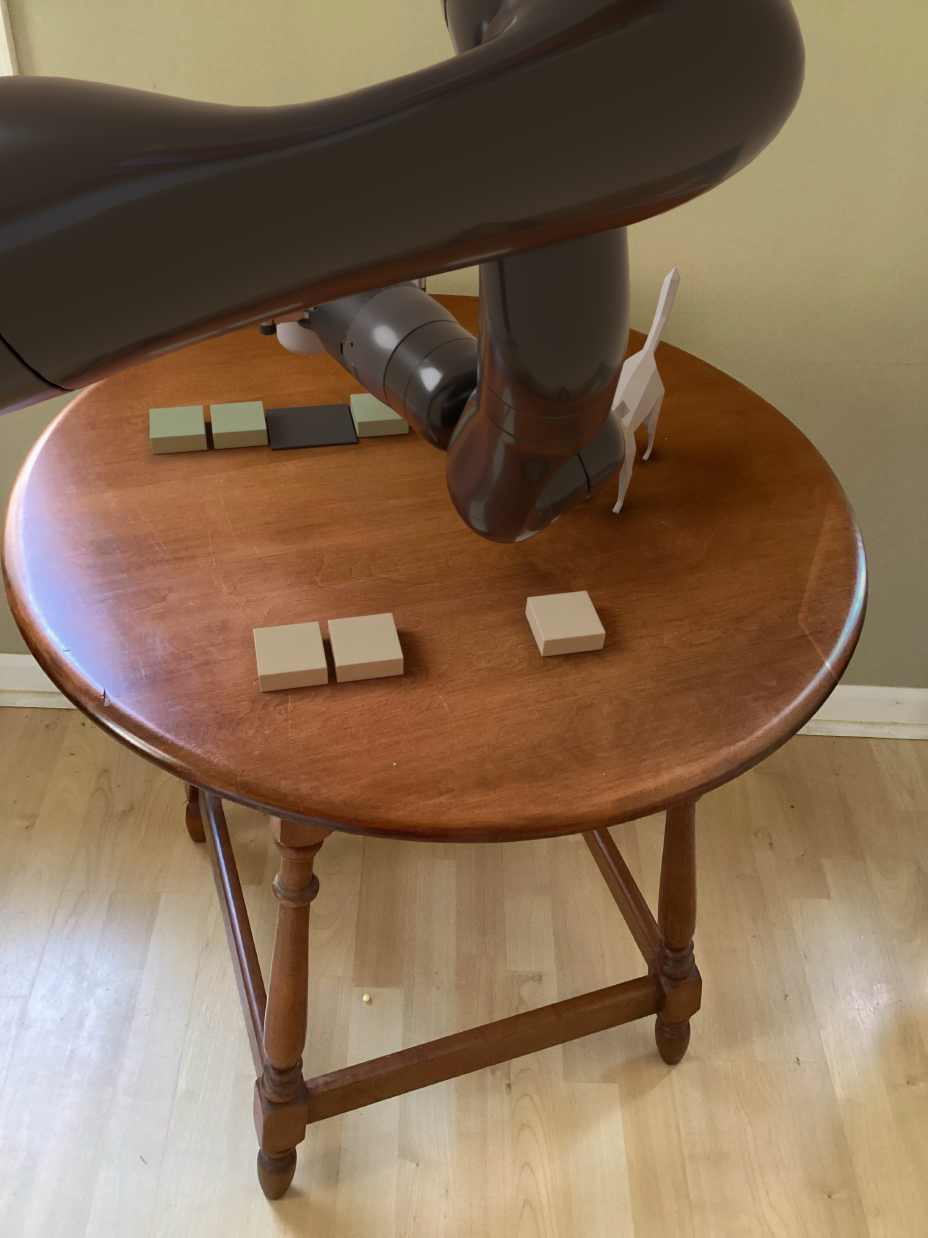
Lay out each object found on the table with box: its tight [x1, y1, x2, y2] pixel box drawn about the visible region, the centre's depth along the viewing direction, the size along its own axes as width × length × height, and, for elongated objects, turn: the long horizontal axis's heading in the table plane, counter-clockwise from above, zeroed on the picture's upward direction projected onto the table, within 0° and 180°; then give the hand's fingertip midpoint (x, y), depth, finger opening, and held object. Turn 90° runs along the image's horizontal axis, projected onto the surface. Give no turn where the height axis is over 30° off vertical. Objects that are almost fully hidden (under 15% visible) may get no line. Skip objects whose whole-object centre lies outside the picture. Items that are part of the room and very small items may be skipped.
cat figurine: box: [611, 266, 682, 514], centre depth 83 cm, size 4×20×14 cm, turn 157°
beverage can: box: [276, 322, 327, 356], centre depth 80 cm, size 5×5×12 cm
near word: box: [252, 590, 606, 693], centre depth 71 cm, size 23×4×2 cm, turn 103°
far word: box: [149, 392, 410, 455], centre depth 89 cm, size 21×6×2 cm, turn 103°
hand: (287, 246), depth 81 cm, fingers closed on beverage can, 5 cm apart
